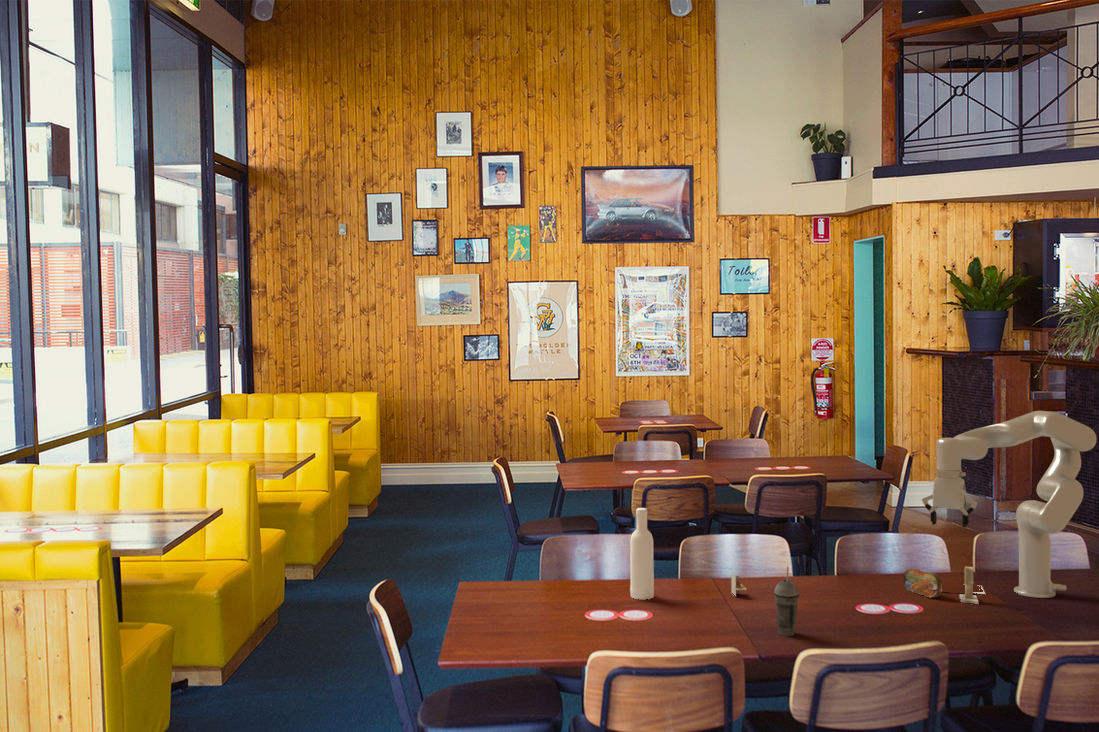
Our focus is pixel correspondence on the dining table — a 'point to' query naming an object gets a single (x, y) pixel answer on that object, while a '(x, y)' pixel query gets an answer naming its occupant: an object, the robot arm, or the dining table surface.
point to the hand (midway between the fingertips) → (949, 525)
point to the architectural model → (736, 584)
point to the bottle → (641, 559)
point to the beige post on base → (968, 587)
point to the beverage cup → (786, 606)
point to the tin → (922, 582)
